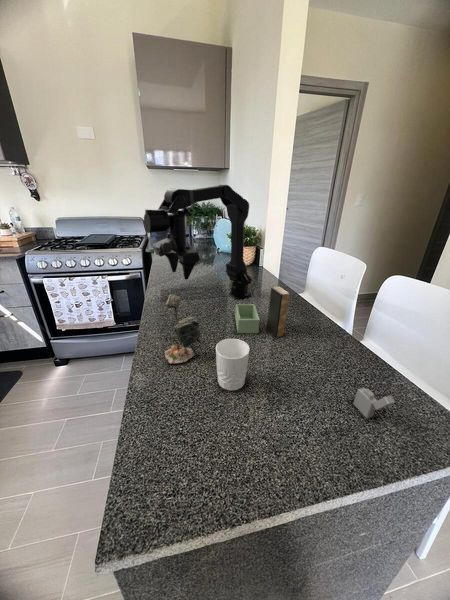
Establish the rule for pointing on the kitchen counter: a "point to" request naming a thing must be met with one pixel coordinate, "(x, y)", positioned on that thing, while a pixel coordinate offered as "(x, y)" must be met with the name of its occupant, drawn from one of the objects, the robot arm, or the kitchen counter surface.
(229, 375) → the white cup
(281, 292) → the eraser
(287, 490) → the kitchen counter surface
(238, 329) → the holder
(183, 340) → the plant with pod
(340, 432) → the kitchen counter surface
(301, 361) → the kitchen counter surface
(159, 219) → the robot arm
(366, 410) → the grey angled bracket
